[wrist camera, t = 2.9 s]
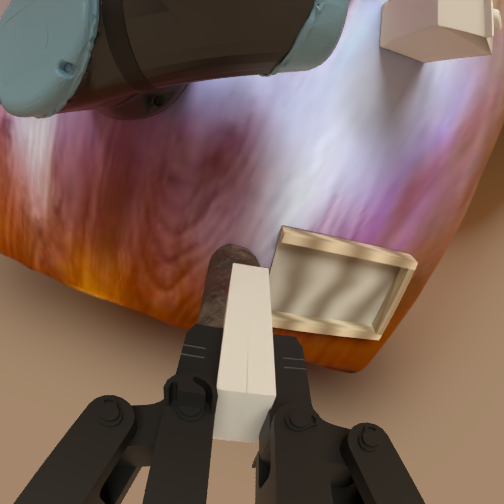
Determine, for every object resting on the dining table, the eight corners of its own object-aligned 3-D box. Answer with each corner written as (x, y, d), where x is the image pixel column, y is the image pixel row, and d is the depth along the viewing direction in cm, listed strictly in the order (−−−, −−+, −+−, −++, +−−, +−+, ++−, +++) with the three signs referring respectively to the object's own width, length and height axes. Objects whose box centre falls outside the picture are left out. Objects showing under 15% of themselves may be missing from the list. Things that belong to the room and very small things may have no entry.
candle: (269, 253, 44) (277, 356, 26) (251, 293, 47) (249, 400, 29) (218, 236, 43) (193, 332, 25) (203, 278, 46) (177, 381, 28)
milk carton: (378, 47, 30) (462, 17, 13) (382, 4, 27) (458, -44, 10) (423, 63, 31) (518, 54, 14) (426, 21, 28) (514, -5, 11)
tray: (258, 312, 49) (258, 324, 46) (282, 225, 42) (284, 234, 39) (374, 329, 50) (378, 340, 48) (410, 254, 44) (417, 263, 41)
